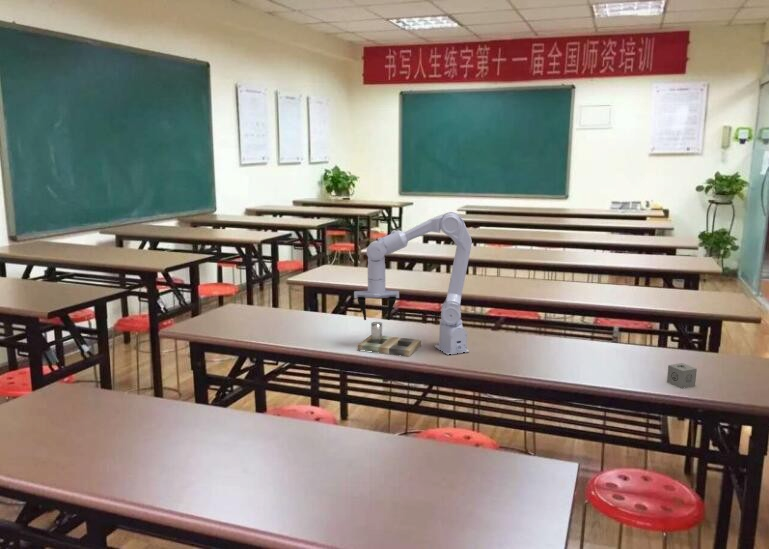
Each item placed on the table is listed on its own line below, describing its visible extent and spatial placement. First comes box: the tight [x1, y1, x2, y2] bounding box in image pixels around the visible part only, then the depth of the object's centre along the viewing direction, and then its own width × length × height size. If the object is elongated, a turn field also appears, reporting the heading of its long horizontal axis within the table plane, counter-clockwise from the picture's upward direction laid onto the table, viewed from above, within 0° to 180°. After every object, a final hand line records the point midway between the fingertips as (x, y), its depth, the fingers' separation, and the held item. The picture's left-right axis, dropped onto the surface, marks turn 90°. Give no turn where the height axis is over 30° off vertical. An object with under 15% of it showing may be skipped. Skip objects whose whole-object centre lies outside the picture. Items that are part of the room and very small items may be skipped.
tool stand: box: [357, 334, 422, 358], centre depth 204 cm, size 18×12×2 cm
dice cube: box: [666, 362, 698, 389], centre depth 172 cm, size 5×5×5 cm
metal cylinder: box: [370, 321, 383, 344], centre depth 205 cm, size 4×4×8 cm
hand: (376, 319), depth 204 cm, fingers open, 7 cm apart
